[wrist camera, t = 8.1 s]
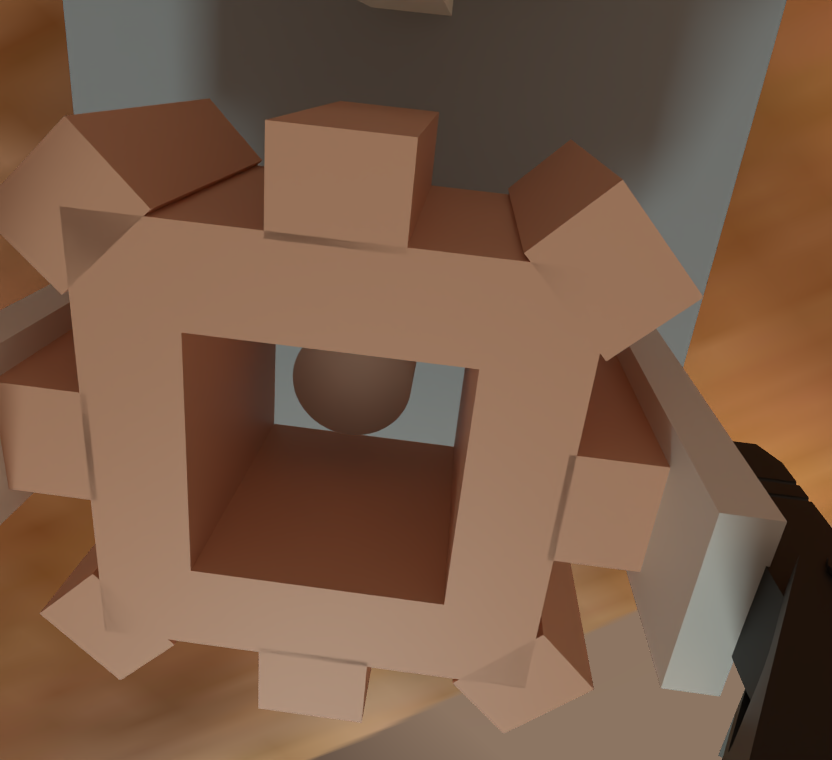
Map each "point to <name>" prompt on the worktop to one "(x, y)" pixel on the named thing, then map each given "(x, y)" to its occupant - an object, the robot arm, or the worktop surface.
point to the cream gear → (414, 5)
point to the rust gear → (328, 450)
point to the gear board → (458, 124)
